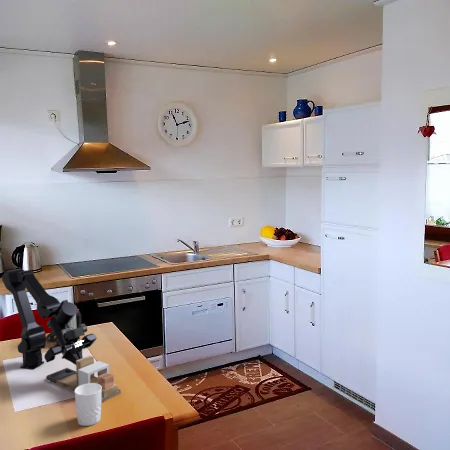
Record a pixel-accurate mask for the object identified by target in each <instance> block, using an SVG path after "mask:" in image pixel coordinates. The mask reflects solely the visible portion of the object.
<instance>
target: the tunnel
mask: <svg viewBox="0 0 450 450" xmlns="http://www.w3.org/2000/svg"><path fill="white" fill-rule="evenodd" d="M93 373H94V374H97V377H98V376H100V375H103V374H105V373H108V374H110V364H108V363H107V362H106V363H105V362H102V361H100V360H99V361H95V362H94V363H93V364H91V365H88V366H86V367H83V368H81V369H79V370H78V378H79V386H80V385H83V384H88V383H90V375H91V374H93Z"/></svg>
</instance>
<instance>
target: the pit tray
mask: <svg viewBox="0 0 450 450" xmlns="http://www.w3.org/2000/svg"><path fill="white" fill-rule="evenodd" d="M75 373H76V370H74V369H71V368H69V367H65V368H63V369H61V370H57V371H56V372H53V373H51V374H48V375H46V376H45V379H46V381H48V382H50V383H53V384H54V385H57V384H56V380H61V379H63V378H66V377H68V376H71V375H73V374H75Z"/></svg>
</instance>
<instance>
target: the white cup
mask: <svg viewBox="0 0 450 450" xmlns="http://www.w3.org/2000/svg"><path fill="white" fill-rule="evenodd" d="M74 400H75V403H74V404H75V410H76V413H75V414H76V418H77V424H78V425H80V426H83V427H89V426H93V425H96V424H98V423H99V422H101V419H102V416H101V415H102V403H101V400H102V387H101V385H99V384H96V383H88V384H83V385H80V386H78V387H77V388H76V389H75V392H74Z"/></svg>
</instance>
